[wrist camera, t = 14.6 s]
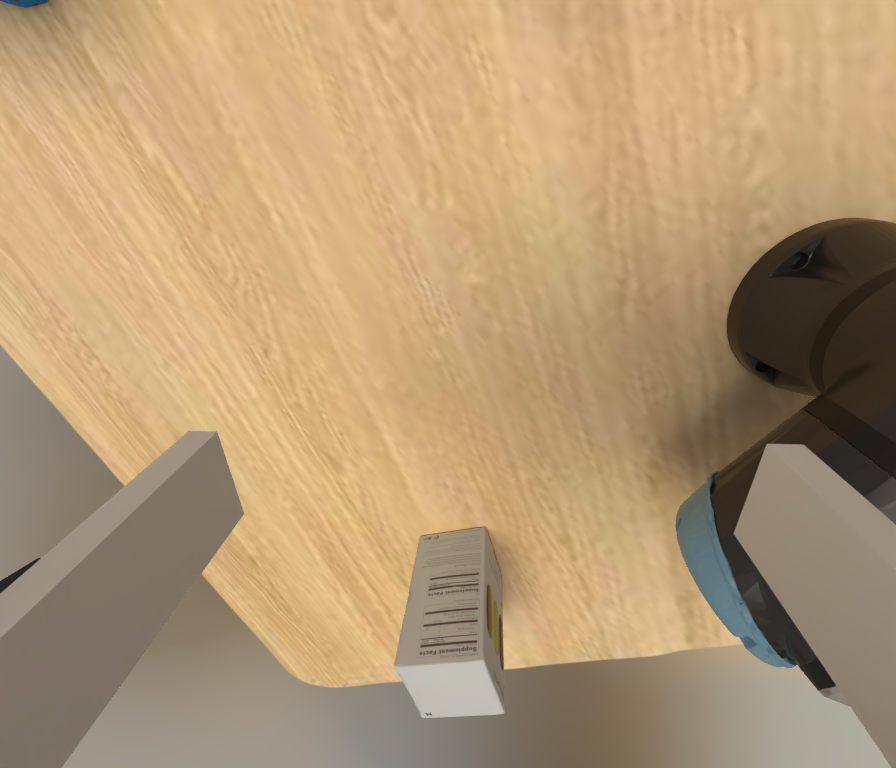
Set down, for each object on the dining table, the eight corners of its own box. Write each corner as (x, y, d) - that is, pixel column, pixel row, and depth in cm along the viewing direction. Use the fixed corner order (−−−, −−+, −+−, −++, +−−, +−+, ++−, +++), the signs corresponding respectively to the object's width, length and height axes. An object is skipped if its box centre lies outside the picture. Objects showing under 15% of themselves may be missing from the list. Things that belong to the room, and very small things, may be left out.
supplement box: (502, 575, 58) (507, 717, 43) (438, 583, 59) (421, 722, 44) (485, 524, 54) (484, 660, 39) (417, 534, 55) (391, 668, 40)
